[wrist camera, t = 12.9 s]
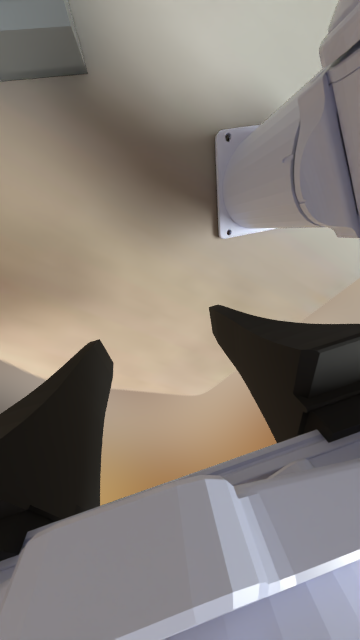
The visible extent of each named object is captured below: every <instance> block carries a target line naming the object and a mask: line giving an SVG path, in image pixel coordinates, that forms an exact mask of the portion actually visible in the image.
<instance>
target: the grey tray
mask: <svg viewBox="0 0 360 640" xmlns="http://www.w3.org/2000/svg"><path fill="white" fill-rule="evenodd" d="M86 73H87V69H86V65H85V62H84V58H83V54H82V51H81V47H80V43H79V40H78V36H77V32H76V28H75V25H74V21H73V17H72V14H71V10H70V6H69V3H68V0H0V81H11V80H21V79H32V78H43V77H53V76H64V75H75V74H86Z"/></svg>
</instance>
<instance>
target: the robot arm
mask: <svg viewBox="0 0 360 640" xmlns="http://www.w3.org/2000/svg"><path fill="white" fill-rule="evenodd" d="M328 32H329V33H328V34H327V35H326V37H325V38H324V39H323V41H322V42H321V45H320V48H319V55H320V60H321V64H322V68H323V69H322V70H321V71H320V72H318V73H317V74H316V75H315V76H314V77H313V78H312V79H311V80H310V81H309V82H307V83H306V84H305V85H304V86H303V87H302V88H301V89H300V90H299V91H297V92H296V93H295V94H294V95H293V96H292V97H291V98H290V99H289V100H288V101H286V102H285V103H284V104H283V105H282V106H281V107H280V108H279V109H278V110H276V111H275V112H274V113H273V114H272V115H271V116H270V117H269V118H268V119H267V120H265V121H264V122H263V123H262V124H261V125H253V126H246V127H238V128H230V129H223V130H220V131H219V132H218V133H217V135H216V137H215V151H216V177H217V203H218V229H219V237H220V238H222V239H226V238H231V237H236V236H241V235H246V234H251V233H257V232H262V231H267V230H272V229H277V228H308V227H328V228H331V229H332V230H334V231H335V233H336V235H337V237H345V238H360V0H339V1H338V3H337V6H336V9H335V11H334V14H333V17H332V20H331V22H330V25H329V28H328ZM226 135H228V136H229V142H227V141H226V139H225V136H226ZM228 230H230V234H229V235H227V231H228ZM209 311H210V318H211V324H212V331H213V334H214V336H215V338H216V340H217V342H218V344H219V345H220V347H221V348H222V349H223V351H224V352H225V354H226V355H227V356H228V358H229V359H230V360H231V362H232V363H233V365H234V366H235V367H236V369H237V370H238V372H239V373H240V375H241V376H242V378H243V380H244V381H245V383H246V385H247V387H248V388H249V390H250V392H251V394H252V396H253V397H254V399H255V401H256V403H257V405H258V407H259V409H260V410H261V412H262V414H263V416H264V418H265V420H266V422H267V424H268V426H269V428H270V430H271V432H272V434H273V436H274V438H275V440H276V442H277V444H274V445H271V446H268V447H266V448H263V449H260V450H257V451H254V452H252V453H249V454H246V455H243V456H240V457H237V458H234V459H232V460H229V461H226V462H223V463H220V464H217V465H215V466H212V467H209V468H206V469H203V470H200V471H198V472H195V473H192V474H189V475H186V476H183V477H181V478H178V479H175V480H172V481H169V482H167V483H164V484H161V485H158V486H155V487H152V488H150V489H147V490H144V491H141V492H138V493H135V494H133V495H130V496H127V497H124V498H121V499H118V500H116V501H113V502H110V503H107V504H104V505H102V506H100V471H101V449H102V436H103V427H104V417H105V411H106V407H107V402H108V398H109V393H110V388H111V383H112V378H113V361H112V360H111V358H110V356H109V355H108V353H107V351H106V349H105V348H104V346H103V344H102V343H101V341H100V339H99V340H96V341H92V342H90V343H88V344H87V345H86V346H84V347H83V348H82V349H81V350H80V351H79V352H78V353H77V354H76V355H74V356H73V357H72V358H71V359H70V360H69V361H68V362H67V363H66V364H65V365H64V366H63V367H61V368H60V369H59V370H58V371H57V372H56V373H54V374H53V375H52V376H51V377H50V378H49V379H48V380H46V381H45V382H44V383H43V384H42V385H40V386H39V387H38V388H36V389H35V390H34V391H32V392H31V393H30V394H29V395H27V396H26V397H25V398H23V399H22V400H20V401H19V402H17V403H16V404H14V405H13V406H11V407H10V408H8V409H7V410H6V411H4V412H3V413H1V414H0V640H360V324H306V323H294V322H285V321H278V320H272V319H266V318H261V317H257V316H253V315H249V314H246V313H243V312H239V311H236V310H233V309H230V308H228V307H225V306H221V305H215V306H212V307H209Z"/></svg>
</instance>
